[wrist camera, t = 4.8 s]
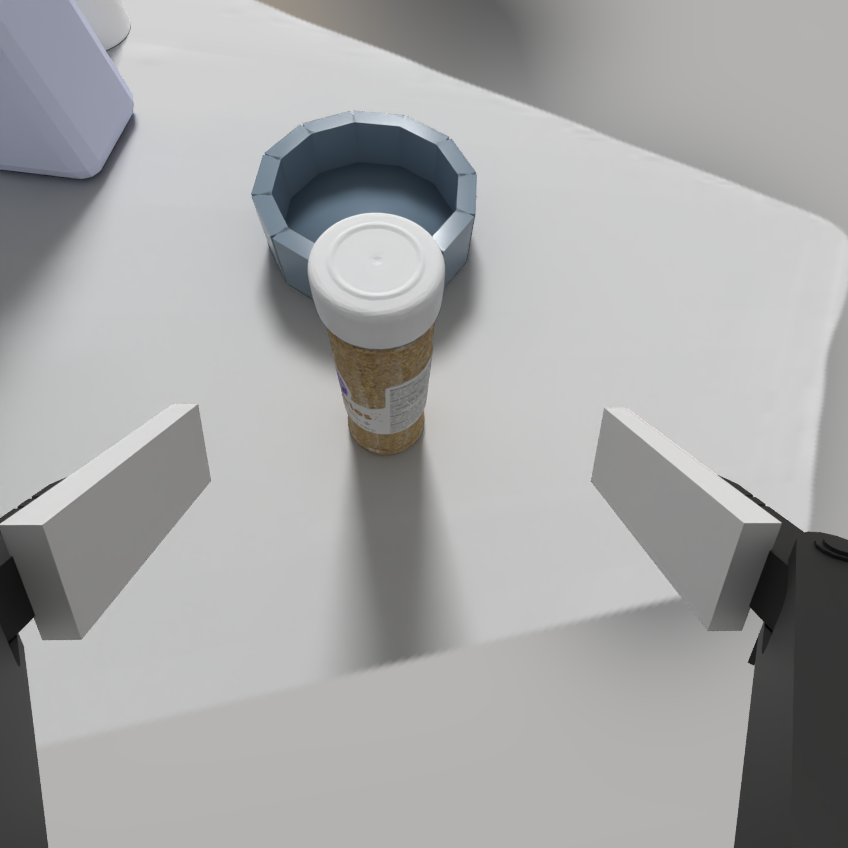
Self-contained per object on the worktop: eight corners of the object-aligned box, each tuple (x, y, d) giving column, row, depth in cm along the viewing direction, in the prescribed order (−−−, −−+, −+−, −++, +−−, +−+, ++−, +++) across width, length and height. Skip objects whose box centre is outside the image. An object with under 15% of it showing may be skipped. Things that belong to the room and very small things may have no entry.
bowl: (313, 342, 29) (300, 302, 25) (245, 194, 33) (226, 143, 30) (502, 272, 32) (516, 227, 28) (416, 145, 36) (418, 93, 33)
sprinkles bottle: (333, 413, 27) (277, 243, 15) (396, 374, 28) (392, 187, 16) (378, 473, 26) (356, 342, 13) (441, 429, 27) (475, 272, 15)
